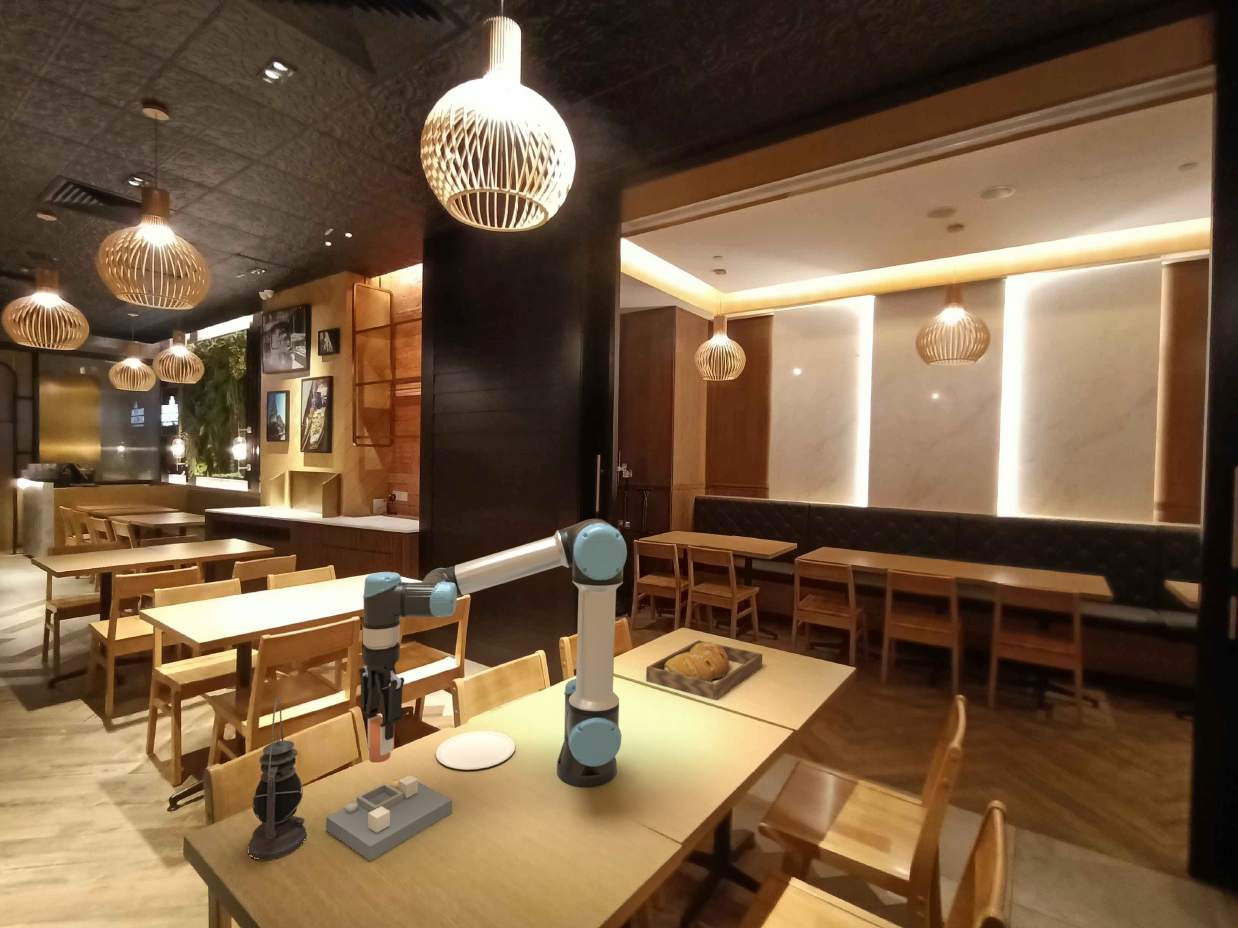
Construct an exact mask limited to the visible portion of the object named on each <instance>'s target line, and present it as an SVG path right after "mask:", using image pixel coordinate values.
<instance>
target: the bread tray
mask: <svg viewBox="0 0 1238 928" xmlns="http://www.w3.org/2000/svg"><path fill="white" fill-rule="evenodd" d="M701 642H706V641H704V640H700V639H699V640H696V641H695V642H692V643H690V644H689V645H686V646H684V647H682V648H680V649H679V650H677V651H675V652H673V653H671V654H669V655H667V656H665V657H663V658H661V659H660V660H658V661H655V662H654V663H652V664H650V665H648V666H646V667H645V668H646V671H645V673H646V678H645V681H646V682H647V683H652V684H656V685H659V686H663V687H666V688H670V689H673V690H677V691H680V692H684V693H689V694H692V695H695V696H699V697H703V698H706V699H709V700H710V699H711V700H714V701H717V700H719V699H720V698H722V697H723V696H725V694H727V693H729V692H730V691H731V690H733V689H734V688H735V687H737V686H738V685H739V684H741V683H743V682H744V681H745V680H746V679H747V678H749V677H750V676H752V675H753V674H755V673H756V672H758V671H759V670H760V669H761V668H762V667H763V653H759V652H754V651H752V650H751V651H750V650H746V649H740V648H736V647H731V646H727V645H723V644H718V643H716V644H717V645H719V646H720V647H722V648H723V649H724V651H725V652H726V654H727V656H728V659H729V662H734V663H739V664H741V665H740V666H739V667H737V668H736V669H734V670H732V671H731V672H730V673H728V674H727V675H724V676H723V677H721V678H720V679H719V680H718V681H716V682H712V681H711V682H708V681H704V680H700V679H696V678H692V677H688V676H684V675H680V674H677V673H673V672H669V671H665V670H664V665H665V663H666V662H667V661H668V660H669V659H671V658H674V657H675V656H676V655H679V654H682V653H685V652H689V651H690V649H691V648H692V647H694V646H695V645H696V644H698V643H701Z"/></svg>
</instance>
